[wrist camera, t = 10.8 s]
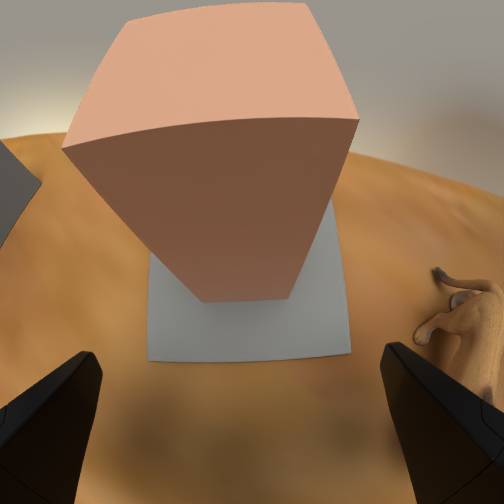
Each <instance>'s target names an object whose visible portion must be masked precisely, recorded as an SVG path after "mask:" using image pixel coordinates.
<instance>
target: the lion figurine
mask: <svg viewBox="0 0 504 504" xmlns="http://www.w3.org/2000/svg"><path fill="white" fill-rule="evenodd" d="M435 269H436V277H437V278H438V279H439V280H440V281H441V282H443V283H444V284H446V285H448V286H453V287H456V288H463V289H473V290H466V291H459V292H457V293H456V294H455V295H454V296H453V297H452V300H451V308H452V309H453V311H451V312H449V313H438V314H436V315H435V316H434V317H433V318H432V319H431V320H430V321H428V322H427V323H425V324H423V325H422V326H420V327H419V328H418V329H417V330H416V332H415V334H414V341H415V343H416V344H418V345H426V344H427V343H428V342H429V339H430V336H431V333H432V331H433V330H435V329H436V328H441V329H443V330H445V331H446V332H448V333H450V334H457V335H459V336H460V337H461V344H460V347H459V348H458V350H457V352H456V354H455V356H454V357H453V359H452V362H451V364H450V365H449V367H448V370H447V373H446V374H447V375H449V376H450V377H452V378H453V379H455V380H456V381H457V382H459V383H460V384H462V385H463V386H465V387H466V388H468V389H469V390H470V391H472V392H473V393H475V394H476V395H478V396H479V397H480V399H481V398H482V399H484V400H485V401H486V402H488V403H489V404H491V405H492V406H494V407H495V408H496V406H495V402H496V390H497V383H498V378H499V369H500V363H501V358H502V353H503V349H504V293H503V291H502V290H501V288H500V287H499V286H498V285H497V284H495V283H493V282H491V281H489V280H455V279H453V278H450V277H449V276H447V274H446V273H445V272H443V271H442V270H441V269H440V268H439V267H436V268H435ZM475 290H479V291H483V292H482V293H480V294H477V293H476V291H475Z"/></svg>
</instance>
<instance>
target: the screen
mask: <svg viewBox="0 0 504 504" xmlns="http://www.w3.org/2000/svg"><path fill="white" fill-rule="evenodd" d="M41 184H42V183H41V182H40V181H39V180H38V179H37V178H36V177H35V176H34V175H33V174H32V173H31V172H30V171H29V170H28V169H27V168H26V167H25V166H24V165H23V164H22V163H21V162H20V161H19V160H18V159H17V158H16V157H15V156H14V155H13V154H12V153H11V152H10V151H9V149H8V148H7V147H6V146H5V145H4V144H3V143H2V142H1V141H0V248H1V246H2V244H3V242H4V241H5V239H6V237H7V235H8V234H9V232H10V230H11V229H12V227H13V225H14V224H15V222H16V221H17V219H18V218H19V216H20V214H21V213H22V211H23V210H24V208H25V207H26V205H27V204H28V202H29V201H30V200H31V198H32V197H33V195H34V194H35V192H36V191H37V190H38V188H39V187H40V186H41Z"/></svg>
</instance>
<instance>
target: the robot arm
mask: <svg viewBox="0 0 504 504" xmlns="http://www.w3.org/2000/svg"><path fill="white" fill-rule="evenodd" d="M380 370H381V374H382V379H383V383H384V387H385V392H386V396H387V401H388V406H389V410H390V413H391V416H392V419H393V422H394V426H395V429H396V432H397V435H398V438H399V441H400V444H401V448H402V451H403V454H404V458H405V461H406V464H407V468H408V471H409V475H410V479H411V482H412V486H413V490H414V493H415V497H416V501H417V504H504V413H503V412H501V411H500V410H498V409H497V408H495V407H494V406H492V405H491V404H489V403H488V402H486V401H485V400H484V399H482V398H481V399H480V397H479V396H478V395H476V394H475V393H473V392H472V391H470V390H469V389H468V388H466V387H465V386H463V385H462V384H460V383H459V382H457V381H456V380H455V379H453V378H452V377H450V376H449V375H447V374H446V373H444V372H443V371H442V370H440V369H439V368H437V367H436V366H434V365H433V364H431V363H430V362H428V361H427V360H426V359H424V358H423V357H421V356H420V355H418V354H417V353H415V352H414V351H412V350H411V349H409V348H408V347H407V346H405V345H404V344H402V343H401V342H391V343H387V344H386V346H385V348H384V352H383V355H382V359H381V362H380ZM102 377H103V372H102V369H101V367H100V365H99V363H98V360H97V358H96V356H95V354H94V353H93V352H89V351H81V352H79V353H78V354H76V355H75V356H74V357H72V358H71V359H69V360H68V361H67V362H65V363H64V364H62V365H61V366H60V367H58V368H57V369H55V370H54V371H52V372H51V373H50V374H48V375H47V376H45V377H44V378H43V379H41V380H40V381H39V382H37V383H36V384H34V385H33V386H32V387H30V388H29V389H27V390H26V391H25V392H23V393H22V394H20V395H19V396H18V397H16V398H15V399H14V400H12V401H11V402H9V403H8V404H7V405H5V406H4V407H3V408H1V409H0V504H74V502H75V497H76V492H77V487H78V482H79V477H80V473H81V468H82V464H83V460H84V456H85V451H86V447H87V444H88V440H89V436H90V432H91V429H92V425H93V421H94V418H95V413H96V408H97V403H98V397H99V392H100V387H101V382H102Z"/></svg>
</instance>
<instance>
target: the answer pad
mask: <svg viewBox="0 0 504 504" xmlns="http://www.w3.org/2000/svg"><path fill="white" fill-rule="evenodd" d="M347 353H351V341H350V329H349V318H348V308H347V299H346V290H345V282H344V274H343V267H342V259H341V252H340V246H339V239H338V233H337V227H336V221H335V215H334V209H333V204H332V198H330V201H329V203H328V206H327V208H326V211H325V213H324V216H323V218H322V221H321V223H320V226H319V228H318V231H317V233H316V236H315V238H314V240H313V243H312V245H311V248H310V250H309V252H308V255H307V257H306V259H305V262H304V264H303V266H302V269H301V271H300V273H299V276H298V278H297V280H296V283H295V285H294V287H293V289H292V292H291V294H290V296H289V298H288V299H281V300H263V301H242V302H216V303H202V302H201V301H200V300H199V299H198V298H197V297H196V296H195V295H194V294H193V293H192V292H191V291H190V290H189V289H188V288H187V287H186V286H185V285H184V284H183V283H182V282H181V281H180V280H179V279H178V278H177V277H176V276H175V275H174V274H173V273H172V272H171V271H170V270H169V269H168V268H167V267H166V266H165V265H164V264H163V263H162V262H161V261H160V260H159V259H158V258H157V257H156V256H155V255H154V254H153V253H152V252H151V253H150V268H149V285H148V312H147V361H163V362H251V361H271V360H287V359H300V358H311V357H321V356H331V355H339V354H347Z"/></svg>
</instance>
